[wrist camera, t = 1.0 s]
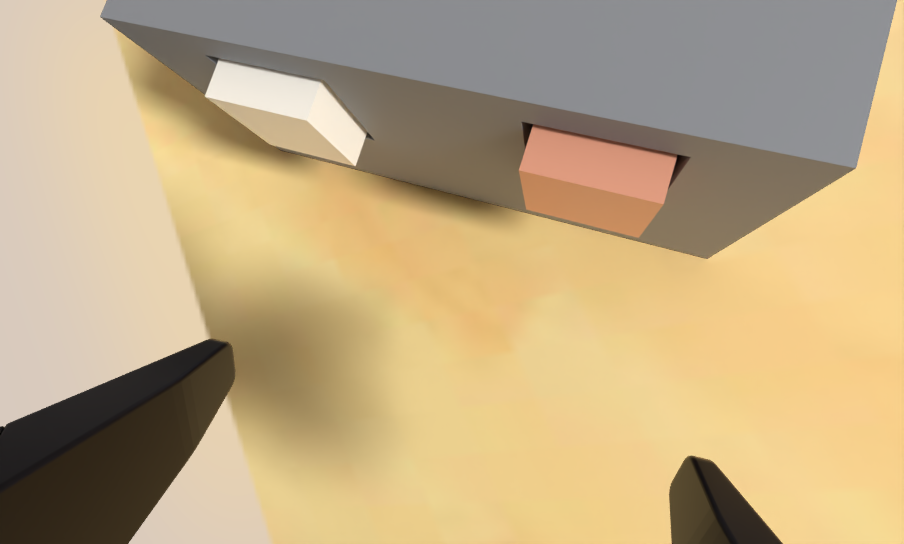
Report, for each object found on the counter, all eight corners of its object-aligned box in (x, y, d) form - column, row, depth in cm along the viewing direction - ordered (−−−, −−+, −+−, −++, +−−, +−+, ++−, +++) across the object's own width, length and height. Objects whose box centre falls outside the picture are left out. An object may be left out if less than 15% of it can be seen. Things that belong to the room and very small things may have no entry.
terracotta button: (638, 238, 17) (663, 204, 13) (526, 209, 18) (518, 170, 14) (652, 189, 17) (681, 141, 13) (540, 163, 18) (536, 112, 14)
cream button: (355, 166, 20) (306, 120, 16) (270, 145, 21) (204, 96, 17) (369, 124, 20) (325, 69, 16) (284, 105, 21) (222, 48, 17)
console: (707, 258, 22) (856, 168, 11) (279, 149, 27) (100, 16, 16) (735, 153, 22) (904, -32, 11) (310, 66, 27) (154, -118, 17)
